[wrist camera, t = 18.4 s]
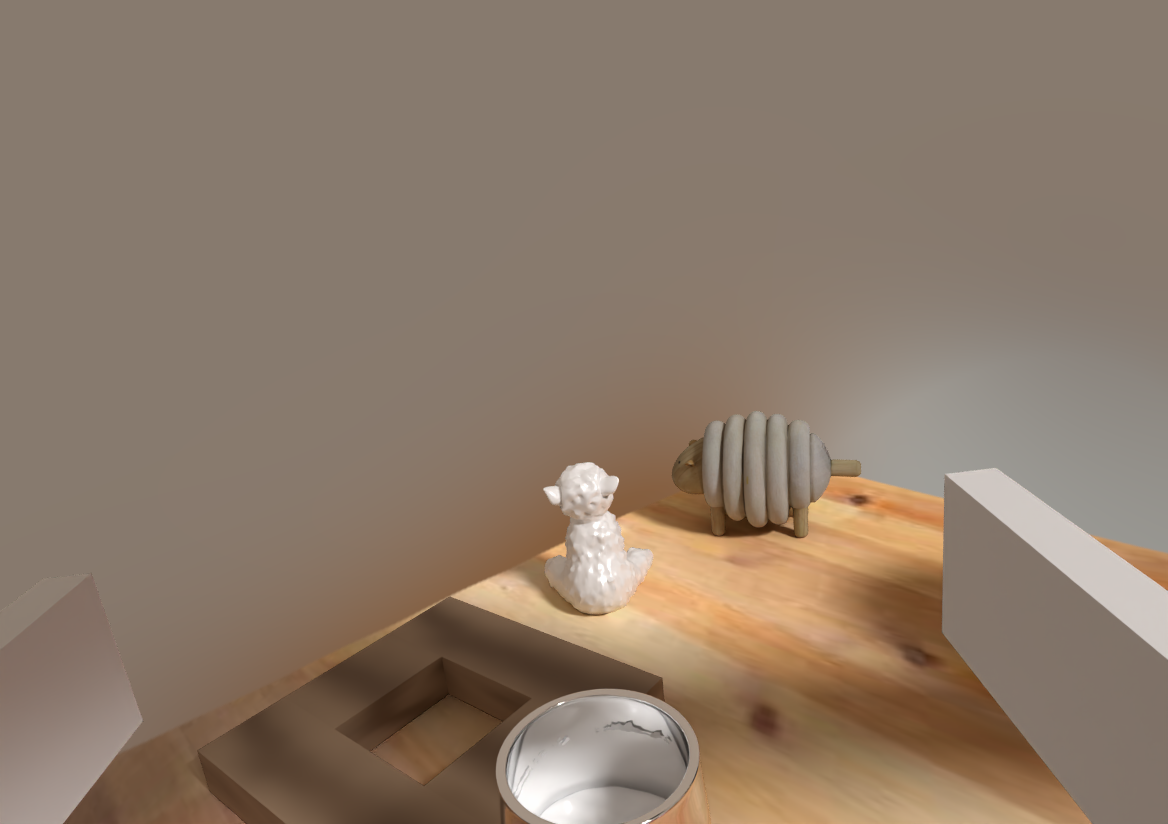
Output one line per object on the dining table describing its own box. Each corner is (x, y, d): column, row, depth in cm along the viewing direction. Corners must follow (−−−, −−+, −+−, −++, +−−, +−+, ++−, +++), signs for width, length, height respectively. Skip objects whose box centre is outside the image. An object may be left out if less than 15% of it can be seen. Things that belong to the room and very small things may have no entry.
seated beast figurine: (653, 563, 69) (641, 435, 65) (665, 616, 61) (652, 472, 57) (546, 576, 69) (528, 448, 66) (544, 630, 61) (524, 487, 57)
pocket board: (455, 629, 62) (449, 596, 61) (665, 718, 49) (662, 677, 49) (209, 791, 48) (197, 750, 47) (417, 974, 35) (405, 922, 34)
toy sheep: (680, 504, 80) (672, 401, 77) (853, 501, 77) (852, 392, 73) (670, 553, 70) (660, 437, 67) (868, 552, 67) (868, 429, 64)
